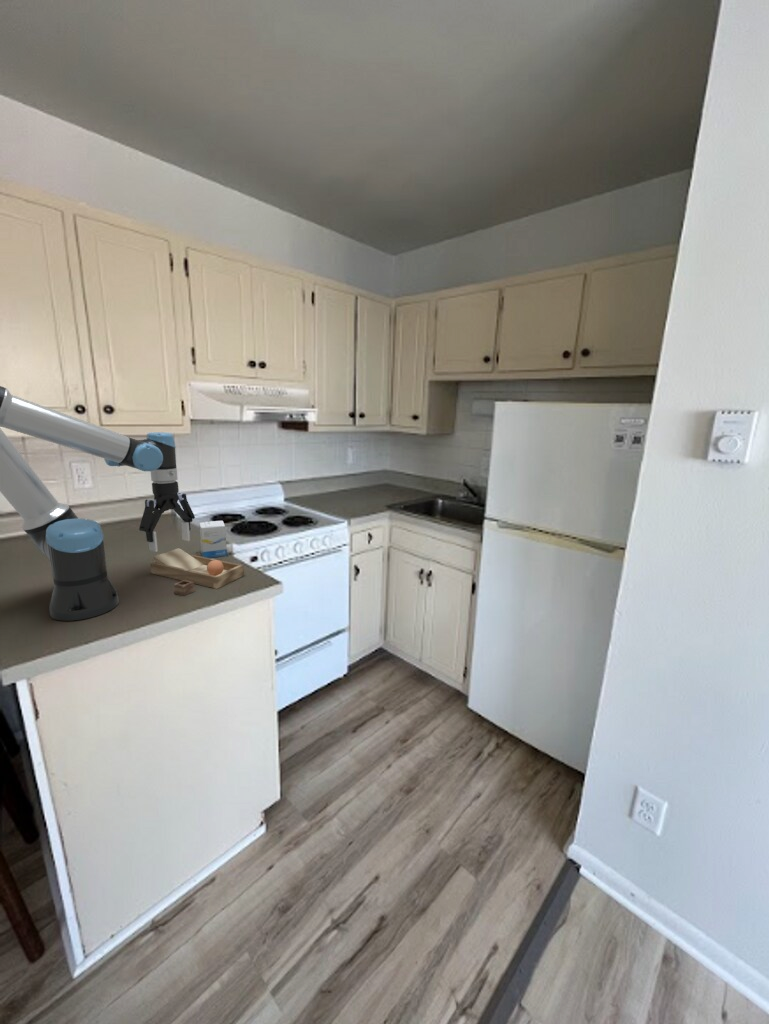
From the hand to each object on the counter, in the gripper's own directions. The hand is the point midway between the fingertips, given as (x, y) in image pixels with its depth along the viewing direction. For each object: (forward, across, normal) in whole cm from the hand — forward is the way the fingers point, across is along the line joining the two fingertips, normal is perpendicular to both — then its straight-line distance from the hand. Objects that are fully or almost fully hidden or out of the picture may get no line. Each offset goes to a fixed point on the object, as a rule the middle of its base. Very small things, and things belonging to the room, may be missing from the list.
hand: (170, 545), depth 142 cm
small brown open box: (+8, -12, -18) cm, 24 cm away
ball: (+5, 0, -19) cm, 19 cm away
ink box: (+9, +18, 0) cm, 20 cm away
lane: (+8, 0, -11) cm, 14 cm away
